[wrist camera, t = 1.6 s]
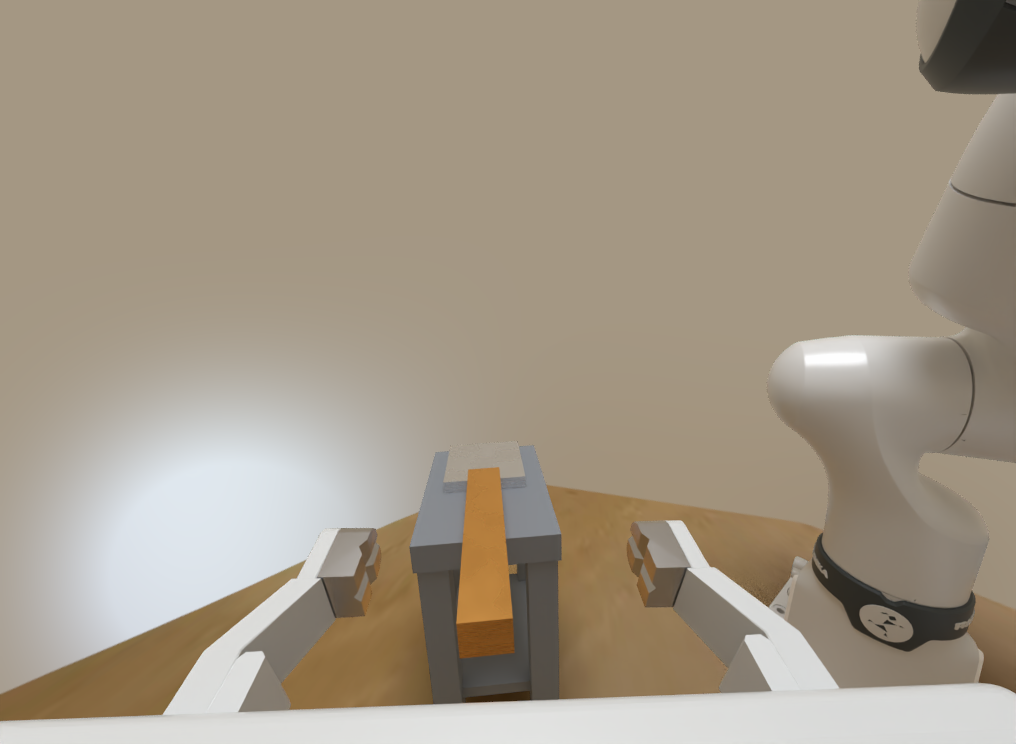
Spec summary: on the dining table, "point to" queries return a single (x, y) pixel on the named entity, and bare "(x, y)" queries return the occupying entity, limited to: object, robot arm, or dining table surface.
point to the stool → (531, 589)
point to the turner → (484, 545)
